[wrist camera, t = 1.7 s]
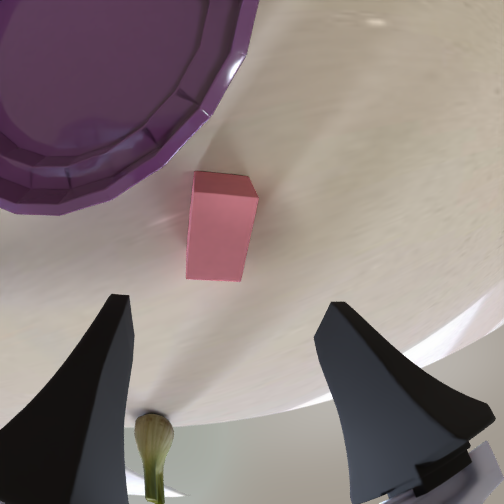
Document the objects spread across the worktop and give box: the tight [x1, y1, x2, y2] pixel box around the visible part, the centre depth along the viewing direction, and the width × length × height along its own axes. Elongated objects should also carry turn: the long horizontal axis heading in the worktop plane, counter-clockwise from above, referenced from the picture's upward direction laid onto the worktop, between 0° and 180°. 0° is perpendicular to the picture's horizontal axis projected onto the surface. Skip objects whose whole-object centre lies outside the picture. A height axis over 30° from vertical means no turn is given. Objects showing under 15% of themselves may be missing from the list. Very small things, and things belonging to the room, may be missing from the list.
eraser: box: [186, 171, 259, 282], centre depth 15 cm, size 5×3×3 cm, turn 169°
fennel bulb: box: [134, 414, 174, 504], centre depth 25 cm, size 6×5×12 cm
